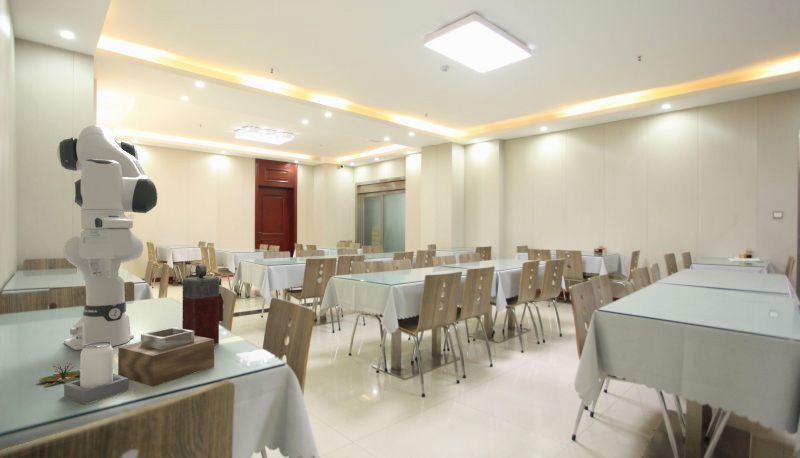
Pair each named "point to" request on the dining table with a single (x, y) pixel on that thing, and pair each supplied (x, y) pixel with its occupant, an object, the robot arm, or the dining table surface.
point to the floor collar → (95, 390)
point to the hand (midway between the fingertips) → (104, 277)
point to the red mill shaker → (202, 305)
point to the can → (96, 364)
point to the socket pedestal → (165, 356)
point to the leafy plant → (61, 376)
